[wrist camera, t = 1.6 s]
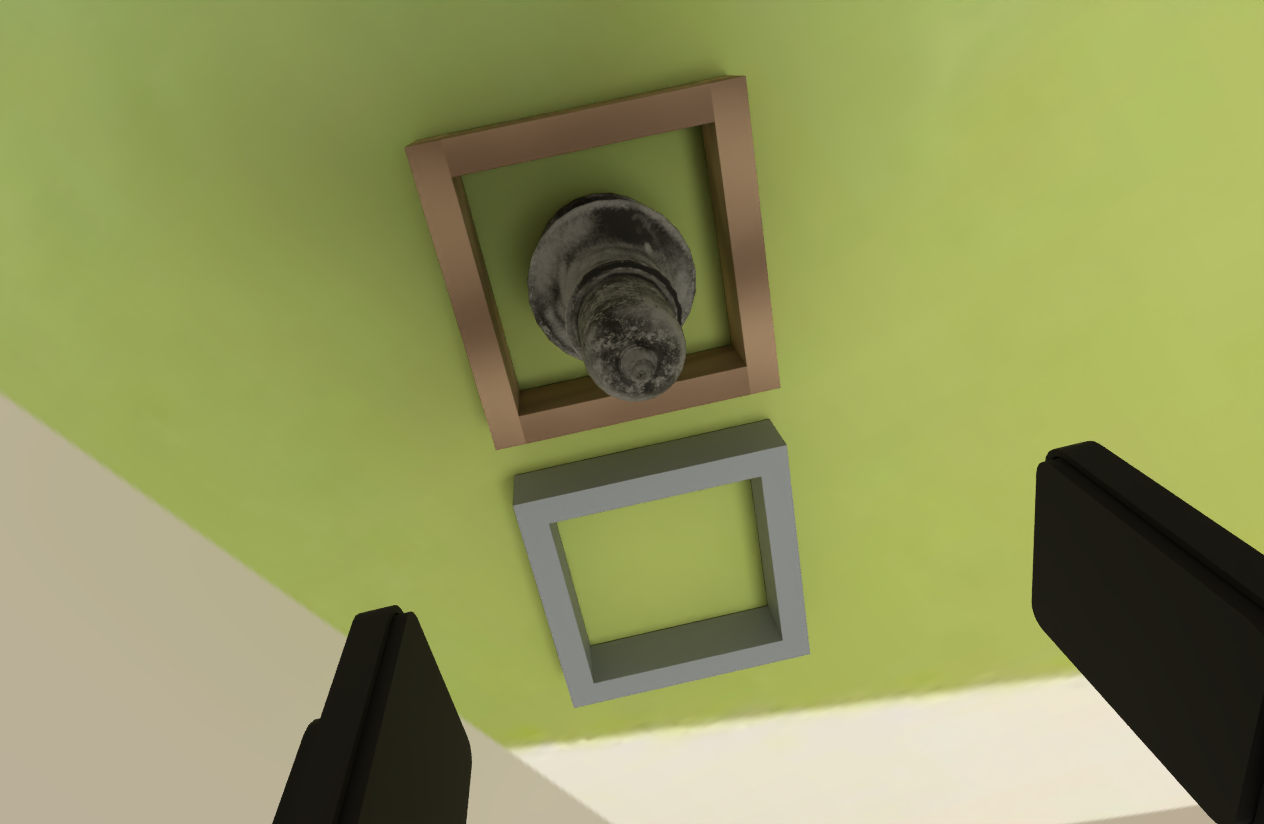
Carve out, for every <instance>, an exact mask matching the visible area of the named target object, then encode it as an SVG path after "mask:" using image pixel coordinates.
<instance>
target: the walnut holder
mask: <svg viewBox="0 0 1264 824" xmlns="http://www.w3.org/2000/svg"><path fill="white" fill-rule="evenodd" d="M697 125H702V132H703V139H704V146H705V153H706V161H707V168H708V175H709V182H710V190H711V197H712V204H713V211H714V219H715V226H716V233H717V240H718V248H719V255H720V262H721V269H722V276H723V284H724V291H725V298H726V305H727V313H728V320H729V327H730V334H731V342H732V345H730V346H725V347H720V348H716V349H711V350H707V351H702V352H697V353H693V354H688V355H686V357H685V361H684V365H683V369H682V371H681V373H680V375H679V377H678V379H677V380H676V382H675V383H674V384H673V385H672V386H671V387H670V388H669V389H668V390H667V391H665V392H664V393H662V394H660V395H659V396H657V397H655V398H652V399H649V400H645V401H635V402H630V401H625V400H619V399H617V398H615V397H613V396H611V395H608V394H607V393H606V392H604V391H603V390H602V389H601V388H600V387H598V386H597V385H596V384H595V382H594V381H593V379H592V378H591V377H590V376H587V377H583V378H578V379H574V380H569V381H565V382H560V383H555V384H551V385H546V386H542V387H537V388H532V389H528V390H523V391H520V389H519V386H518V382H517V379H516V375H515V371H514V368H513V364H512V360H511V357H510V353H509V350H508V346H507V342H506V339H505V335H504V331H503V328H502V324H501V321H500V317H499V313H498V310H497V306H496V302H495V299H494V295H493V292H492V288H491V284H490V281H489V277H488V274H487V270H486V266H485V263H484V259H483V255H482V252H481V248H480V245H479V241H478V237H477V234H476V230H475V226H474V223H473V219H472V216H471V212H470V208H469V205H468V201H467V197H466V194H465V190H464V187H463V183H462V179H461V175H465V174H470V173H475V172H480V171H484V170H489V169H494V168H498V167H503V166H508V165H513V164H517V163H522V162H527V161H532V160H536V159H541V158H546V157H551V156H555V155H560V154H565V153H570V152H574V151H579V150H584V149H589V148H593V147H598V146H603V145H607V144H612V143H617V142H622V141H626V140H631V139H636V138H641V137H645V136H650V135H655V134H660V133H664V132H669V131H674V130H679V129H683V128H688V127H693V126H697ZM404 148H405V151H406V154H407V158H408V161H409V164H410V168H411V171H412V174H413V178H414V181H415V184H416V187H417V191H418V194H419V197H420V201H421V204H422V207H423V211H424V214H425V217H426V220H427V224H428V227H429V230H430V234H431V237H432V240H433V244H434V247H435V250H436V254H437V257H438V260H439V263H440V267H441V270H442V273H443V277H444V280H445V283H446V287H447V290H448V293H449V296H450V300H451V303H452V306H453V310H454V313H455V316H456V320H457V323H458V326H459V330H460V333H461V336H462V339H463V343H464V346H465V349H466V353H467V356H468V359H469V363H470V366H471V369H472V372H473V376H474V379H475V382H476V386H477V389H478V392H479V396H480V399H481V402H482V406H483V409H484V412H485V415H486V419H487V422H488V425H489V429H490V432H491V435H492V439H493V442H494V445H495V449H496V450H500V449H504V448H509V447H513V446H518V445H522V444H527V443H532V442H536V441H541V440H545V439H550V438H554V437H559V436H563V435H568V434H572V433H577V432H582V431H586V430H591V429H595V428H600V427H604V426H609V425H613V424H618V423H622V422H627V421H632V420H636V419H641V418H645V417H650V416H654V415H659V414H663V413H668V412H673V411H677V410H682V409H686V408H691V407H695V406H700V405H704V404H709V403H713V402H718V401H723V400H727V399H732V398H736V397H741V396H745V395H750V394H754V393H759V392H763V391H768V390H773V389H777V388H780V380H779V371H778V362H777V354H776V345H775V336H774V327H773V318H772V309H771V300H770V291H769V282H768V273H767V264H766V255H765V246H764V237H763V228H762V219H761V210H760V201H759V192H758V183H757V174H756V165H755V156H754V147H753V138H752V129H751V120H750V111H749V102H748V93H747V84H746V76H734V75H727V76H722V77H718V78H713V79H708V80H703V81H699V82H694V83H689V84H684V85H680V86H675V87H670V88H665V89H660V90H656V91H651V92H646V93H641V94H637V95H632V96H627V97H622V98H618V99H613V100H608V101H603V102H598V103H594V104H589V105H584V106H579V107H575V108H570V109H565V110H560V111H556V112H551V113H546V114H541V115H536V116H532V117H527V118H522V119H517V120H513V121H508V122H503V123H498V124H494V125H489V126H484V127H479V128H474V129H470V130H465V131H460V132H455V133H451V134H446V135H441V136H436V137H431V138H427V139H422V140H417V141H415V142H413V143H411V144H410V145H408V146H406V147H404Z"/></svg>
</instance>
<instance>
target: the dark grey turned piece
mask: <svg viewBox="0 0 1264 824" xmlns="http://www.w3.org/2000/svg"><path fill="white" fill-rule="evenodd" d="M527 284H528V294H529V303H530V306H531V308H532V311H533V314H534V316H535V319H536V322H537V324H538V325H539V326H540V328H541V329H542V330H543V332H544V333H545V335H546V336H547V337H548V339H549V340H550V341H551V342H553V343H554V344H555V345H556V346H557V347H559V348H560V349H561V350H562V351H564V352H565V353H566V354H568V355H571V356H573V357H575V358H577V359H580V360H582V361H584V364H585V367H586V369H587V372H588V374H589V375H590V377H591V378H592V379H593V381H594V382H595V384H596V385H597V386H598V387H600V388H601V389H602V390H603V391H604V392H606V393H607V394H608V395H611V396H613V397H615V398H617V399H619V400H625V401H630V402H635V401H645V400H649V399H652V398H655V397H657V396H659V395H660V394H662V393H664V392H665V391H667V390H668V389H669V388H670V387H671V386H672V385H673V384H674V383H675V382H676V380H677V379H678V377H679V375H680V373H681V371H682V369H683V365H684V361H685V357H686V341H685V337H684V334H683V330H682V328H681V327H682V326H683V324H684V322H685V320H686V319H687V317H688V315H689V313H690V311H691V307H692V303H693V299H694V296H695V292H696V270H695V267H694V263H693V259H692V255H691V252H690V249H689V247H688V245H687V244H686V242H685V240H684V239H683V237H682V235H681V234H680V232H679V230H678V229H677V228H676V227H674V226H673V225H672V224H671V223H670V222H669V221H668V220H667V219H666V218H665V217H664V216H663V215H662V214H660V213H658V212H656V211H654V210H652V209H650V208H649V207H647V206H645V205H643V204H641V203H639V202H637V201H635V200H633V199H631V198H629V197H627V196H622V195H618V194H613V193H599V194H590V195H587V196H584V197H581V198H578V199H575V200H573V201H572V202H570V203H569V204H567V205H566V206H564V207H563V208H561V209H560V210H559V211H558V212H557V213H556V214H555V215H554V217H553V218H552V219H551V220H550V221H549V222H548V224H547V225H546V227H545V230H544V232H543V234H542V236H541V238H540V240H539V243H538V245H537V247H536V249H535V251H534V253H533V255H532V258H531V262H530V268H529V273H528V279H527Z"/></svg>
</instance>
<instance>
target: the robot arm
mask: <svg viewBox="0 0 1264 824" xmlns="http://www.w3.org/2000/svg"><path fill="white" fill-rule="evenodd" d="M1032 609H1033V613H1034V615H1035V618H1036V620H1037V622H1038V624H1039V625H1040V627H1041V628H1042V629H1043V631H1044V632H1045V633H1046V634H1047V635H1048V636H1049V637H1050V638H1051V640H1052V641H1053V642H1054V643H1055V644H1056V645H1057V646H1058V647H1059V648H1060V650H1061V651H1062V652H1063V653H1064V654H1065V655H1066V656H1067V657H1068V659H1069V660H1070V661H1071V662H1072V663H1073V664H1074V665H1075V666H1076V668H1077V669H1078V670H1079V671H1080V672H1081V673H1082V674H1083V675H1084V677H1085V678H1086V679H1087V680H1088V681H1089V682H1090V683H1091V684H1092V685H1093V687H1094V688H1095V689H1096V690H1097V691H1098V692H1099V693H1100V694H1101V696H1102V697H1103V698H1104V699H1105V700H1106V701H1107V702H1108V703H1109V705H1110V706H1111V707H1112V708H1113V709H1114V710H1115V711H1116V712H1117V714H1118V715H1119V716H1120V717H1121V718H1122V719H1123V720H1124V721H1125V723H1126V724H1127V725H1128V726H1129V727H1130V728H1131V729H1132V730H1133V731H1134V733H1135V734H1136V735H1137V736H1138V737H1139V738H1140V739H1141V740H1142V742H1143V743H1144V744H1145V745H1146V746H1147V747H1148V748H1149V749H1150V751H1151V752H1152V753H1153V754H1154V755H1155V756H1156V757H1157V758H1158V760H1159V761H1160V762H1161V763H1162V764H1163V765H1164V766H1165V767H1166V769H1167V770H1168V771H1169V772H1170V773H1171V774H1172V775H1173V776H1174V777H1175V779H1176V780H1177V781H1178V782H1179V783H1180V784H1181V785H1182V786H1183V788H1184V789H1185V790H1186V791H1187V792H1188V793H1189V794H1190V795H1191V797H1192V798H1193V799H1194V800H1195V801H1196V802H1197V803H1198V804H1199V806H1200V807H1201V808H1202V809H1203V810H1204V811H1205V812H1206V813H1207V814H1208V816H1209V817H1210V818H1211V819H1213V820H1214V821H1215V822H1216V823H1217V824H1264V555H1263V554H1261V553H1260V552H1259V551H1257V550H1256V549H1254V548H1253V547H1251V546H1250V545H1248V544H1247V543H1245V542H1244V541H1242V540H1241V539H1239V538H1238V537H1236V536H1235V535H1233V534H1232V533H1230V532H1229V531H1227V530H1226V529H1225V528H1223V527H1222V526H1220V525H1219V524H1217V523H1216V522H1214V521H1213V520H1211V519H1210V518H1208V517H1207V516H1205V515H1204V514H1202V513H1201V512H1199V511H1198V510H1196V509H1195V508H1193V507H1192V506H1191V505H1189V504H1188V503H1186V502H1185V501H1183V500H1182V499H1180V498H1179V497H1177V496H1176V495H1174V494H1173V493H1171V492H1170V491H1168V490H1167V489H1165V488H1164V487H1162V486H1161V485H1159V484H1158V483H1157V482H1155V481H1154V480H1152V479H1151V478H1149V477H1148V476H1146V475H1145V474H1143V473H1142V472H1140V471H1139V470H1137V469H1136V468H1134V467H1133V466H1131V465H1130V464H1128V463H1127V462H1125V461H1124V460H1122V459H1121V458H1120V457H1118V456H1117V455H1115V454H1114V453H1112V452H1111V451H1109V450H1108V449H1106V448H1105V447H1103V446H1102V445H1100V444H1098V443H1096V442H1094V441H1086V442H1082V443H1078V444H1073V445H1069V446H1065V447H1061V448H1057V449H1053V450H1051V451H1049V452H1048V454H1047V456H1046V460H1045V462H1042V463H1040V464H1039V465H1038V467H1037V472H1036V498H1035V525H1034V553H1033V580H1032ZM471 767H472V756H471V748H470V743H469V740H468V737H467V735H466V732H465V730H464V728H463V726H462V723H461V720H460V718H459V716H458V713H457V711H456V709H455V706H454V704H453V701H452V699H451V697H450V694H449V692H448V690H447V687H446V685H445V682H444V680H443V678H442V675H441V673H440V671H439V668H438V666H437V664H436V661H435V659H434V656H433V654H432V652H431V649H430V647H429V645H428V642H427V640H426V637H425V635H424V633H423V630H422V628H421V626H420V623H419V621H418V619H417V617H416V615H415V614H414V613H413V612H407V613H403V611H402V609H401V608H400V607H399V606H397V605H393V606H389V607H384V608H380V609H376V610H372V611H368V612H363V613H359V614H357V615H356V616H355V618H354V620H353V622H352V625H351V628H350V631H349V634H348V637H347V640H346V643H345V646H344V650H343V652H342V655H341V658H340V661H339V664H338V667H337V670H336V673H335V676H334V679H333V683H332V685H331V688H330V691H329V694H328V697H327V700H326V703H325V706H324V709H323V712H322V715H321V718H320V719H315V720H314V721H313V722H311V723H310V724H309V725H308V727H307V729H306V731H305V733H304V735H303V738H302V741H301V744H300V747H299V749H298V752H297V755H296V758H295V761H294V764H293V766H292V769H291V772H290V775H289V778H288V781H287V783H286V786H285V789H284V792H283V795H282V798H281V801H280V803H279V806H278V809H277V812H276V815H275V817H274V820H273V823H272V824H466V819H467V809H468V799H469V787H470V778H471Z"/></svg>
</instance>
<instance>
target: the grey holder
mask: <svg viewBox="0 0 1264 824" xmlns="http://www.w3.org/2000/svg"><path fill="white" fill-rule="evenodd" d="M747 479H751V486H752V494H753V501H754V508H755V515H756V523H757V530H758V537H759V544H760V551H761V559H762V566H763V573H764V580H765V588H766V595H767V602H768V606H765V607H761V608H756V609H752V610H748V611H743V612H739V613H734V614H730V615H725V616H721V617H717V618H712V619H708V620H703V621H699V622H695V623H690V624H686V625H681V626H677V627H673V628H668V629H664V630H659V631H655V632H650V633H646V634H642V635H637V636H633V637H628V638H624V639H620V640H615V641H611V642H606V643H602V644H598V645H593V646H590V643H589V639H588V636H587V632H586V628H585V625H584V621H583V618H582V614H581V610H580V607H579V603H578V599H577V596H576V592H575V589H574V585H573V581H572V578H571V574H570V570H569V567H568V563H567V560H566V556H565V552H564V549H563V545H562V541H561V538H560V534H559V531H558V527H557V523H556V522H559V521H563V520H568V519H572V518H577V517H581V516H586V515H590V514H595V513H599V512H604V511H608V510H613V509H617V508H622V507H626V506H631V505H635V504H640V503H644V502H649V501H653V500H658V499H662V498H667V497H671V496H676V495H680V494H685V493H689V492H694V491H698V490H703V489H707V488H712V487H716V486H720V485H725V484H729V483H734V482H738V481H743V480H747ZM513 508H514V511H515V515H516V518H517V521H518V525H519V528H520V531H521V534H522V538H523V541H524V544H525V548H526V551H527V554H528V558H529V561H530V564H531V567H532V571H533V574H534V577H535V581H536V584H537V587H538V591H539V594H540V597H541V601H542V604H543V607H544V610H545V614H546V617H547V620H548V624H549V627H550V630H551V634H552V637H553V640H554V643H555V647H556V650H557V653H558V657H559V660H560V663H561V667H562V670H563V673H564V677H565V680H566V683H567V686H568V690H569V693H570V696H571V700H572V703H573V706H574V708H576V707H581V706H585V705H589V704H594V703H598V702H603V701H607V700H611V699H616V698H620V697H624V696H629V695H633V694H638V693H642V692H646V691H651V690H655V689H659V688H664V687H668V686H673V685H677V684H681V683H686V682H690V681H694V680H699V679H703V678H708V677H712V676H716V675H721V674H725V673H729V672H734V671H738V670H743V669H747V668H751V667H756V666H760V665H764V664H769V663H773V662H777V661H782V660H786V659H791V658H795V657H799V656H804V655H808V654H810V650H809V641H808V632H807V623H806V614H805V605H804V596H803V587H802V578H801V569H800V560H799V551H798V542H797V533H796V524H795V515H794V506H793V497H792V488H791V479H790V470H789V461H788V452H787V445H786V443H785V442H784V440H783V439H782V437H781V436H780V434H779V433H778V431H777V430H776V428H775V427H774V425H773V423H772V422H771V420H770V419H769V420H764V421H759V422H755V423H750V424H746V425H741V426H737V427H732V428H728V429H723V430H719V431H714V432H710V433H705V434H701V435H696V436H692V437H687V438H683V439H678V440H673V441H669V442H664V443H660V444H655V445H651V446H646V447H642V448H637V449H633V450H628V451H624V452H619V453H615V454H610V455H606V456H601V457H596V458H592V459H587V460H583V461H578V462H574V463H569V464H565V465H560V466H556V467H551V468H547V469H542V470H538V471H533V472H529V473H524V474H520V475H515V477H514V495H513Z"/></svg>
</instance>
